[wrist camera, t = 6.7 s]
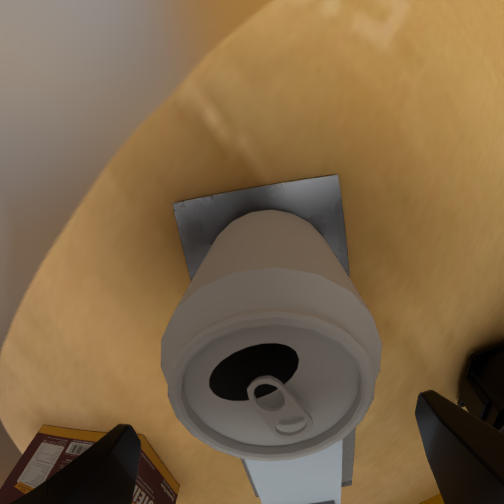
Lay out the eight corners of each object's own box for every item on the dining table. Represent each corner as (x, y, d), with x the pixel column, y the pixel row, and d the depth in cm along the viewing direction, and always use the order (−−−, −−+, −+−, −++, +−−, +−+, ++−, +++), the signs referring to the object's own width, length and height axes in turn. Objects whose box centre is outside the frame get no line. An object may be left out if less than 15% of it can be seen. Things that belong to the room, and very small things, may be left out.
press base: (336, 174, 19) (348, 177, 16) (349, 462, 26) (354, 484, 24) (175, 202, 19) (160, 210, 17) (254, 474, 27) (253, 497, 25)
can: (286, 182, 18) (319, 229, 7) (350, 281, 20) (426, 414, 8) (185, 252, 20) (97, 371, 8) (255, 339, 21) (243, 492, 10)
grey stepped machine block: (328, 378, 22) (344, 449, 15) (332, 465, 25) (340, 521, 18) (247, 389, 22) (240, 461, 16) (270, 473, 26) (269, 529, 19)
